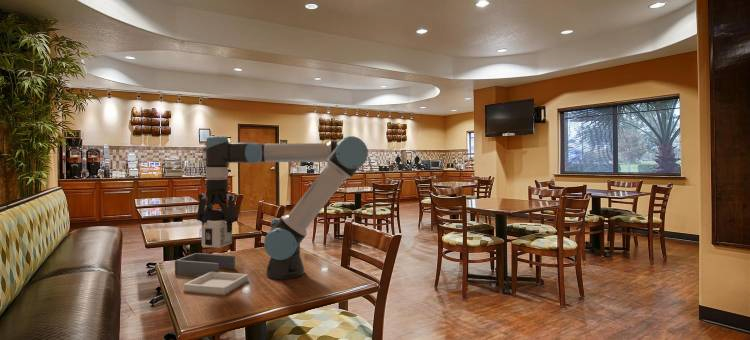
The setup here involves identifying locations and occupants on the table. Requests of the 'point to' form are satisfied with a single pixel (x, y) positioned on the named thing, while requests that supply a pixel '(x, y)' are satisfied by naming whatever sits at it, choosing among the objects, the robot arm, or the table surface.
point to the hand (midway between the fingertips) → (217, 240)
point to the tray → (216, 283)
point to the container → (214, 230)
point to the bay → (203, 264)
